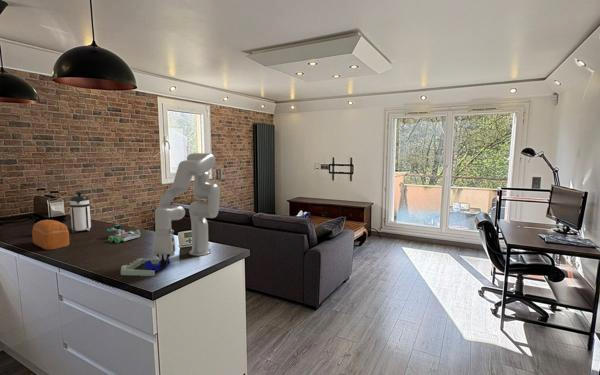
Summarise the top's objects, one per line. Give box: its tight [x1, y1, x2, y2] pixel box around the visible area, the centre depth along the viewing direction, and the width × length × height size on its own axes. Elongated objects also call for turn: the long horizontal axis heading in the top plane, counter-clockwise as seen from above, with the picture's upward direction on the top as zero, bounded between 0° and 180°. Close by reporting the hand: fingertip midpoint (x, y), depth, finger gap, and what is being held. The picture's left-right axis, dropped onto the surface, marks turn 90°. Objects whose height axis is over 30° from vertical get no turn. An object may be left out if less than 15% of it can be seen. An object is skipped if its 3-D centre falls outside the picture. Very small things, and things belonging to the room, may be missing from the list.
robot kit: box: [106, 224, 142, 244], centre depth 224 cm, size 19×25×9 cm
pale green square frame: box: [120, 258, 171, 277], centre depth 166 cm, size 17×17×4 cm
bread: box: [31, 219, 70, 250], centre depth 208 cm, size 14×26×16 cm, turn 54°
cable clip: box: [143, 254, 171, 272], centre depth 165 cm, size 12×4×6 cm, turn 155°
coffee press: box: [68, 191, 92, 234], centre depth 244 cm, size 17×16×30 cm
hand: (164, 266), depth 165 cm, fingers closed
